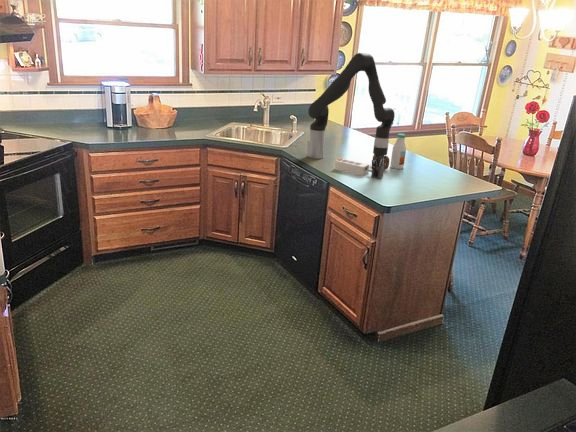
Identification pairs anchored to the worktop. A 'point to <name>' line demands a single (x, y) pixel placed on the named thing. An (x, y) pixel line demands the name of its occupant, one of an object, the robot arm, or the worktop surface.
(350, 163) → the power strip
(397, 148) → the milk bottle
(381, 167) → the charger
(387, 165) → the tin
